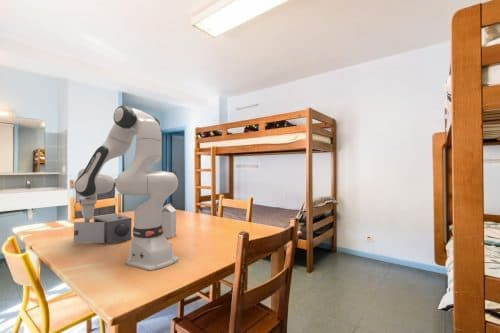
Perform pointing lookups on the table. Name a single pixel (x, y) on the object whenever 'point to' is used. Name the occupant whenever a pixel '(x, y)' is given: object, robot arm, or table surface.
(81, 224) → the door
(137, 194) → the robot arm
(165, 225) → the milk carton
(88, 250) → the table surface
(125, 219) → the housing
